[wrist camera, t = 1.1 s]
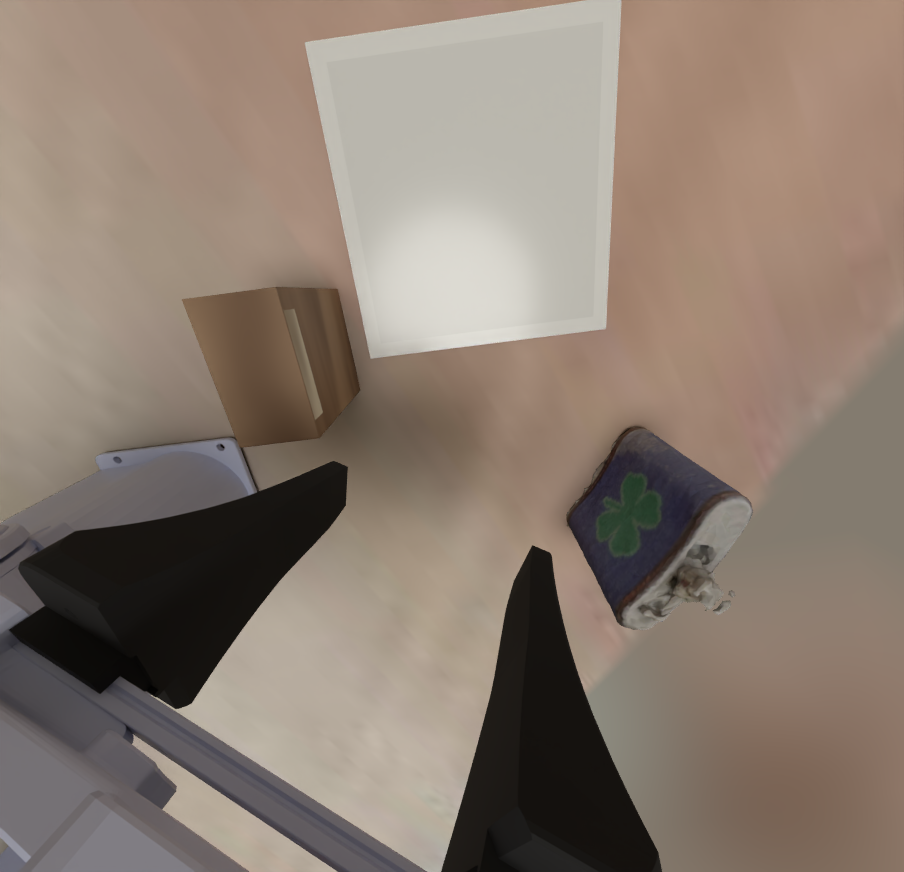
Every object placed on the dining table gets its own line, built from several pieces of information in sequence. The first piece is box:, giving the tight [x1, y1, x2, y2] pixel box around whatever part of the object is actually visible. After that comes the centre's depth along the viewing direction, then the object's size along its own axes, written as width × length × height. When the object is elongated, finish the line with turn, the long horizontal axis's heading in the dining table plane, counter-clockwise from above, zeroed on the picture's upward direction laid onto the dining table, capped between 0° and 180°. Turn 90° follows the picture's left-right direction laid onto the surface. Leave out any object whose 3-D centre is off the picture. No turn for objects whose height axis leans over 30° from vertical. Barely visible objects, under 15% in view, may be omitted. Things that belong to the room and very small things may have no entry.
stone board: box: [305, 0, 621, 359], centre depth 18 cm, size 14×14×1 cm
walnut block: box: [182, 287, 360, 448], centre depth 17 cm, size 4×6×8 cm, turn 7°
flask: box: [567, 427, 753, 630], centre depth 20 cm, size 9×3×11 cm, turn 156°
